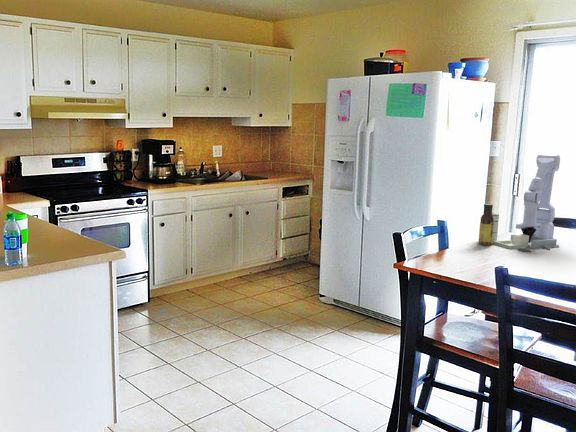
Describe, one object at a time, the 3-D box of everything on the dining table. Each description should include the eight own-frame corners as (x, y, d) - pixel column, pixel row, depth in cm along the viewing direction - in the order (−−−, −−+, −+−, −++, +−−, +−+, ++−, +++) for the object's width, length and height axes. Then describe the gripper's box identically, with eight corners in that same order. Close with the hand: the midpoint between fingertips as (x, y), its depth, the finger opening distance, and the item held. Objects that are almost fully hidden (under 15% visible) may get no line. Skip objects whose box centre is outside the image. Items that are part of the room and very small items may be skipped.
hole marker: (524, 248, 260) (524, 248, 260) (534, 251, 254) (534, 251, 254) (514, 249, 258) (514, 249, 258) (524, 252, 252) (524, 251, 252)
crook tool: (557, 246, 266) (557, 244, 266) (564, 248, 263) (564, 246, 263) (541, 247, 263) (542, 245, 263) (548, 249, 259) (548, 247, 259)
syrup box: (497, 242, 272) (500, 213, 269) (485, 242, 272) (487, 213, 269) (493, 240, 277) (495, 212, 275) (481, 239, 277) (484, 211, 275)
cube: (520, 243, 271) (521, 233, 270) (528, 245, 267) (529, 235, 266) (512, 244, 269) (513, 234, 268) (520, 246, 265) (521, 236, 264)
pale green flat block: (509, 242, 272) (509, 239, 272) (526, 247, 262) (526, 244, 262) (492, 243, 269) (492, 240, 268) (509, 248, 258) (509, 245, 258)
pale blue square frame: (532, 240, 280) (533, 233, 280) (555, 246, 267) (556, 239, 267) (510, 241, 275) (510, 234, 274) (532, 248, 262) (533, 241, 261)
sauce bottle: (492, 246, 262) (496, 205, 259) (479, 245, 263) (483, 204, 260) (490, 243, 269) (494, 203, 265) (477, 242, 270) (481, 203, 266)
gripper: (525, 217, 261) (522, 244, 263) (547, 216, 266) (544, 243, 268) (513, 214, 267) (511, 241, 269) (536, 213, 273) (533, 240, 275)
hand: (527, 242), depth 269 cm, fingers closed
